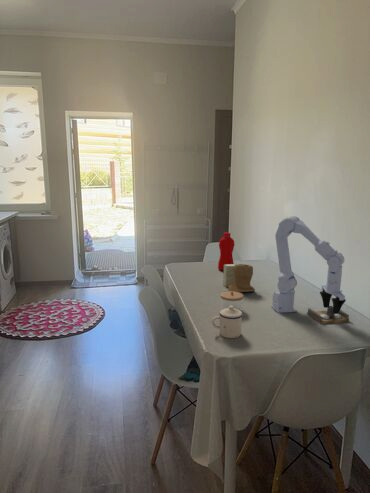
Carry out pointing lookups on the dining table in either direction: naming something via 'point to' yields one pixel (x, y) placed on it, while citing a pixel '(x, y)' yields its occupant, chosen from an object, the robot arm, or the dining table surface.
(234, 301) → the lidded jar
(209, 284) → the dining table surface
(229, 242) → the red bottle
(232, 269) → the skincare box
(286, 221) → the robot arm
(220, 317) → the teacup with lid
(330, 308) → the spectacles
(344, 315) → the stand
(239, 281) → the brown boot
